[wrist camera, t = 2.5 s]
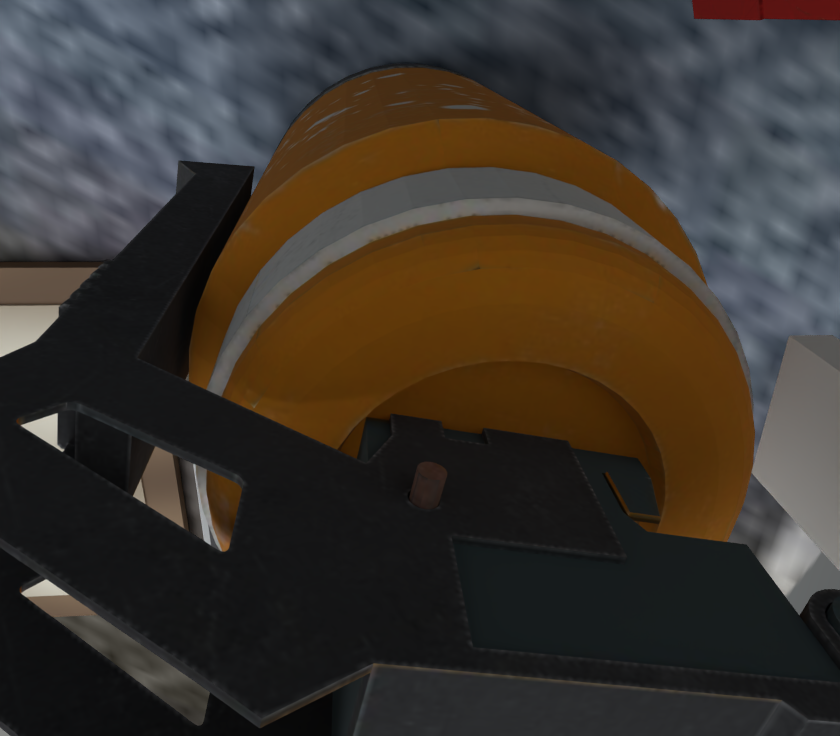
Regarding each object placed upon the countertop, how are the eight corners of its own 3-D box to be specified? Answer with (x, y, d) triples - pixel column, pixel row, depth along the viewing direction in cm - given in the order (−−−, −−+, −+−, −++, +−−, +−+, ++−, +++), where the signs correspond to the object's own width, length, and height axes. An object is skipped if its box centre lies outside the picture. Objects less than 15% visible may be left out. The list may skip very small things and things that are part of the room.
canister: (498, 351, 26) (815, 1085, 8) (189, 297, 24) (-265, 1107, 6) (575, 99, 22) (1469, 450, 4) (217, 10, 20) (-732, 6, 2)
